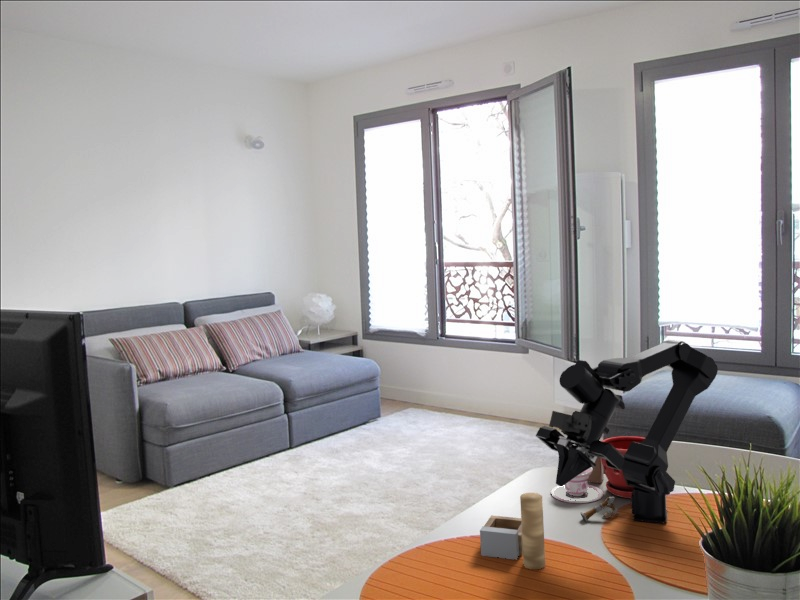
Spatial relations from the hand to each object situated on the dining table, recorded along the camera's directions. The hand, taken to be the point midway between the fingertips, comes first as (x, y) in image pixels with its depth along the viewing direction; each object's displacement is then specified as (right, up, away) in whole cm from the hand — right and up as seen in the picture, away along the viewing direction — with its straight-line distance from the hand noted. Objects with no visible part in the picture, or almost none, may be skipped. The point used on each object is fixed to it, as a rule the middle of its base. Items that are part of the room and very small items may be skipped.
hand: (558, 485), depth 132 cm
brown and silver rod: (+12, -11, +15) cm, 23 cm away
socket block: (-9, -13, +5) cm, 17 cm away
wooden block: (+18, -9, +38) cm, 43 cm away
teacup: (+11, -10, +30) cm, 33 cm away
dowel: (-5, -14, -4) cm, 15 cm away
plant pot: (+24, -10, +29) cm, 39 cm away
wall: (-11, -14, 0) cm, 18 cm away
